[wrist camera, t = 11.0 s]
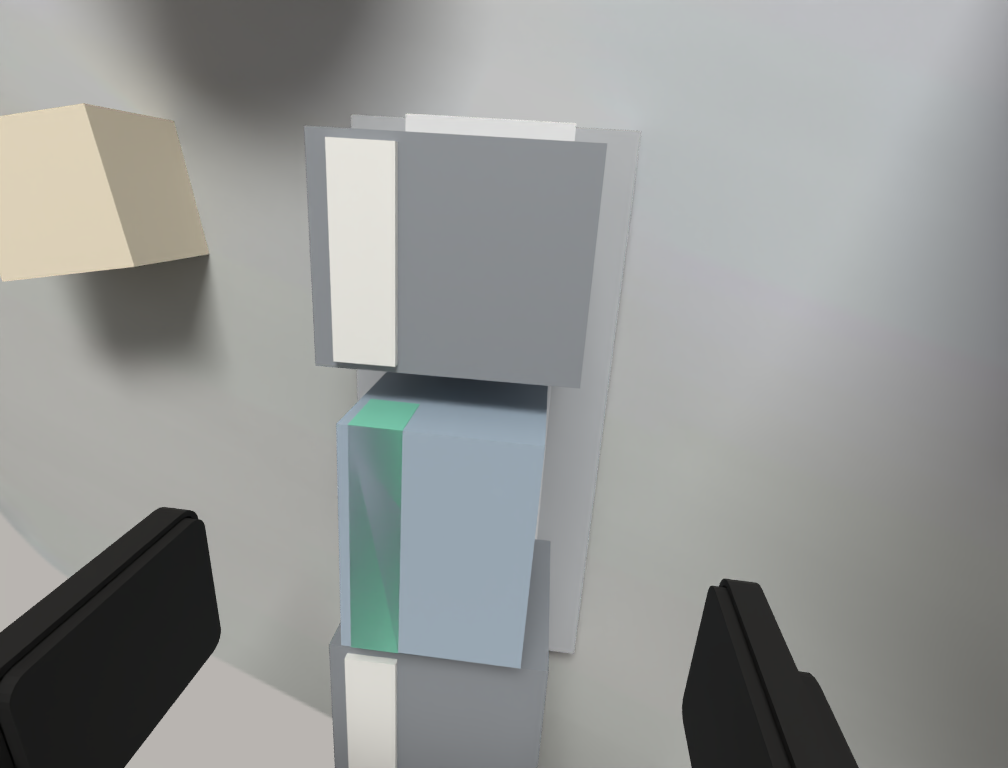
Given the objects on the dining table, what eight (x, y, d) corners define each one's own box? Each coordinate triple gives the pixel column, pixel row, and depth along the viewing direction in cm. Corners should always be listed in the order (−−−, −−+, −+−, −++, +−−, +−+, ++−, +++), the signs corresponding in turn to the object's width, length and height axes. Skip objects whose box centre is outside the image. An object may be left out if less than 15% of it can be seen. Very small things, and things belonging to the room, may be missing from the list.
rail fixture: (363, 119, 19) (221, 62, 11) (636, 135, 18) (698, 87, 10) (371, 609, 25) (286, 800, 17) (573, 632, 25) (581, 841, 17)
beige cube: (58, 138, 20) (-58, 124, 16) (175, 121, 19) (83, 103, 16) (100, 266, 21) (2, 281, 18) (211, 253, 21) (134, 267, 17)
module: (414, 342, 19) (336, 423, 12) (549, 355, 18) (544, 445, 12) (410, 501, 21) (341, 645, 14) (532, 515, 20) (520, 669, 14)
